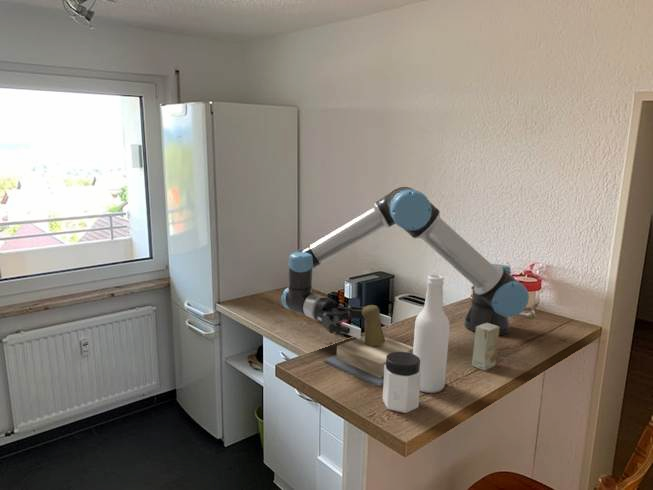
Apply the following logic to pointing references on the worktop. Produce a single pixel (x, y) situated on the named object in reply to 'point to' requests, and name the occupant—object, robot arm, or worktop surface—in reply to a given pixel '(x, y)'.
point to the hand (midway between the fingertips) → (375, 327)
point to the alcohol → (432, 338)
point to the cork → (372, 326)
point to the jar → (401, 381)
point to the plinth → (366, 358)
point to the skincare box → (485, 346)
